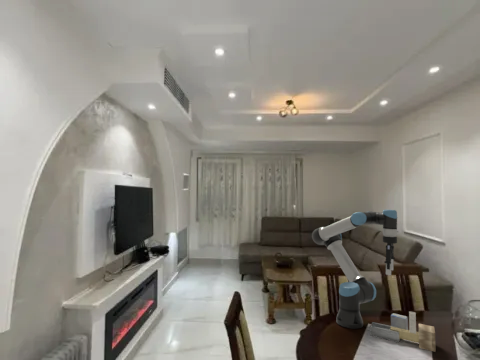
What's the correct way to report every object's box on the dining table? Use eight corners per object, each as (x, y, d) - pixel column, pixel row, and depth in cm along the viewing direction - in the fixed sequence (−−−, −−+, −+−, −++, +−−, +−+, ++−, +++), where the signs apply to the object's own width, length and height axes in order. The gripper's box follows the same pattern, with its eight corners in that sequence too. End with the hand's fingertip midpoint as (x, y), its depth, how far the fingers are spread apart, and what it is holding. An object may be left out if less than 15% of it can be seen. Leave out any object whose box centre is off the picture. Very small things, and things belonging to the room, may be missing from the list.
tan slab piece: (390, 336, 158) (389, 309, 159) (390, 333, 161) (390, 307, 162) (430, 345, 149) (429, 317, 150) (429, 342, 152) (429, 314, 153)
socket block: (419, 347, 149) (418, 329, 150) (418, 340, 157) (418, 323, 157) (435, 351, 145) (435, 333, 146) (434, 344, 153) (434, 326, 154)
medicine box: (408, 332, 167) (407, 316, 168) (406, 334, 164) (405, 318, 164) (393, 327, 172) (392, 312, 173) (390, 330, 169) (390, 314, 170)
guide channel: (370, 335, 162) (370, 326, 162) (372, 330, 168) (371, 322, 168) (399, 342, 155) (398, 332, 155) (399, 337, 160) (399, 327, 161)
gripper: (395, 239, 160) (395, 278, 159) (398, 234, 181) (398, 269, 180) (380, 237, 164) (379, 275, 163) (385, 233, 185) (385, 267, 184)
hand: (389, 272), depth 171 cm, fingers open, 13 cm apart
